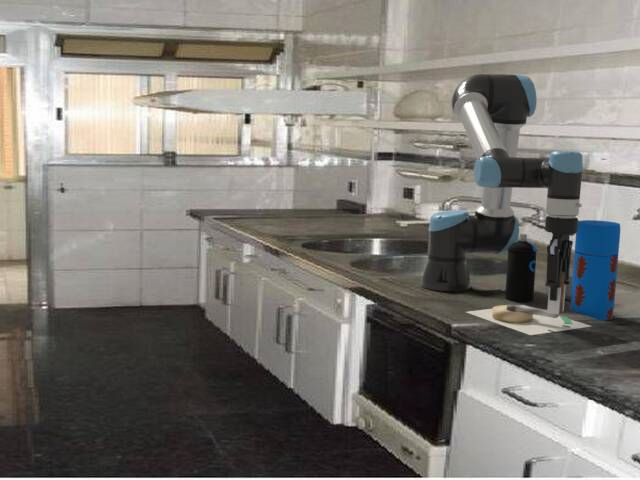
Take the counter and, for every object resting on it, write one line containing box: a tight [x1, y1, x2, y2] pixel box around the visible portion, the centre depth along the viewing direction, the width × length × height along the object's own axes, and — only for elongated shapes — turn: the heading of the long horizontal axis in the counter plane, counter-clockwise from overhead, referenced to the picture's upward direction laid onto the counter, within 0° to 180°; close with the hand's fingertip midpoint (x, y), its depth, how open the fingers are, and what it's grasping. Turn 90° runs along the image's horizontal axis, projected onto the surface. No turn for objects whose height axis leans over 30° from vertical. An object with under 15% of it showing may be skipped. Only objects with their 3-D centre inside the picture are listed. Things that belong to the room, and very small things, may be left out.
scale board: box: [465, 304, 592, 336], centre depth 196 cm, size 24×21×2 cm
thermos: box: [570, 219, 621, 322], centre depth 205 cm, size 11×11×25 cm
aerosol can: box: [504, 232, 538, 303], centre depth 217 cm, size 8×8×20 cm
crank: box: [491, 271, 565, 323], centre depth 193 cm, size 18×10×13 cm, turn 53°
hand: (555, 311), depth 189 cm, fingers open, 3 cm apart
